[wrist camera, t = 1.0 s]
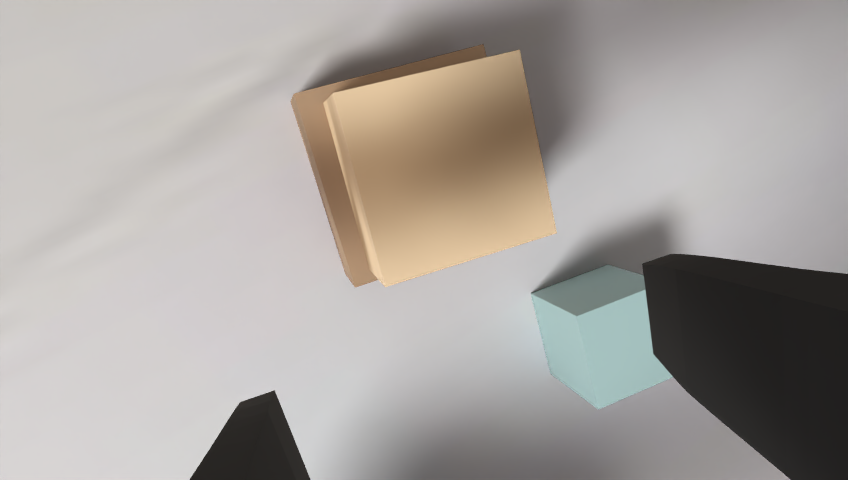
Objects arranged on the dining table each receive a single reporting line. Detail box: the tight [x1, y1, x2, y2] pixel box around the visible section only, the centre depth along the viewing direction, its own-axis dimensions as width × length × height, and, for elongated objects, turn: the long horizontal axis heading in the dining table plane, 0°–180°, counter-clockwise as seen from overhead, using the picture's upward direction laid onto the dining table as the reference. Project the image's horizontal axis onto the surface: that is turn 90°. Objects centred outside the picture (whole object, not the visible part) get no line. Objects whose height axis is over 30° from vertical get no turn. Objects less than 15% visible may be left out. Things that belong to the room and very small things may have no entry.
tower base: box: [291, 44, 486, 287], centre depth 22 cm, size 7×7×3 cm
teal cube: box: [531, 265, 673, 410], centre depth 24 cm, size 4×4×4 cm
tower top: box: [323, 50, 557, 287], centre depth 19 cm, size 6×6×3 cm
